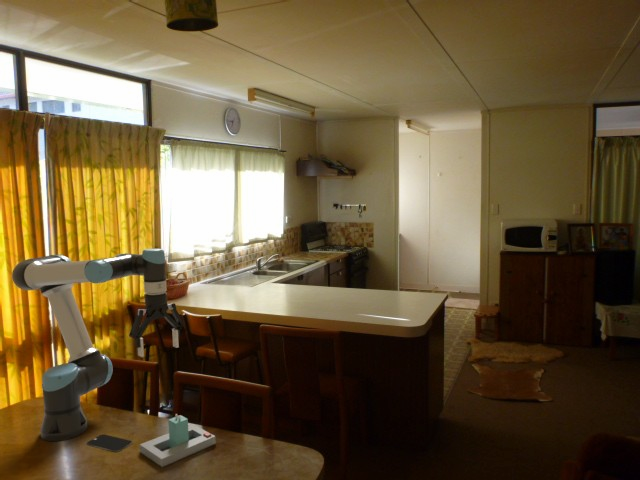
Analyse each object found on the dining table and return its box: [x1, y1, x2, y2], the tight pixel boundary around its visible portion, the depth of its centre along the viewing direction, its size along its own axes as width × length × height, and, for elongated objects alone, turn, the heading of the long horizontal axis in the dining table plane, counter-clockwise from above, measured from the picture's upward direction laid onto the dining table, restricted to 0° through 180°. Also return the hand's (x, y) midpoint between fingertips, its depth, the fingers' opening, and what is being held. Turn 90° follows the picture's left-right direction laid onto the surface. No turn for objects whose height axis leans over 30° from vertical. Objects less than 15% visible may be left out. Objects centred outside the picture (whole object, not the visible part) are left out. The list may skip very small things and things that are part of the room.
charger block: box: [168, 413, 189, 448], centre depth 175 cm, size 4×4×11 cm
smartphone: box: [85, 434, 133, 453], centre depth 181 cm, size 8×1×15 cm
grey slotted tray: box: [139, 423, 217, 468], centre depth 176 cm, size 14×20×3 cm
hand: (158, 351), depth 188 cm, fingers open, 13 cm apart
